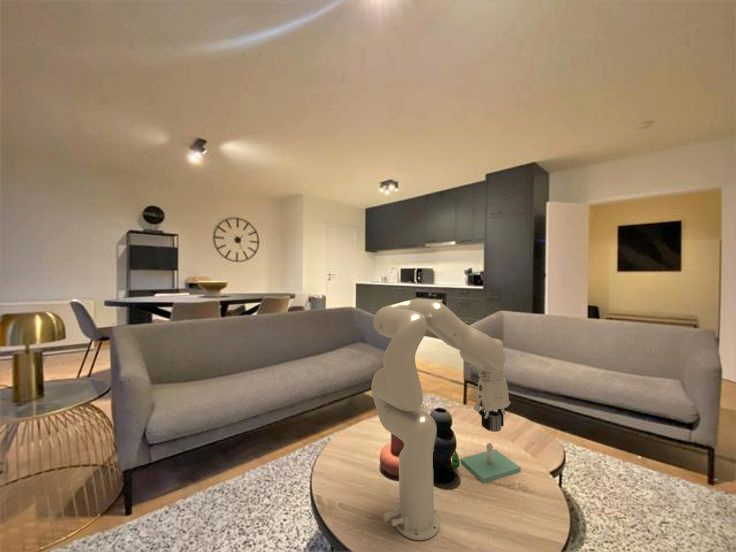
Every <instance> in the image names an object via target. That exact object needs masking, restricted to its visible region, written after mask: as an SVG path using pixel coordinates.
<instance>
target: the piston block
mask: <svg viewBox="0 0 736 552" xmlns="http://www.w3.org/2000/svg"><path fill="white" fill-rule="evenodd" d="M493 448H494V447H493V444H492V443H491V442H488V443H487V444H486V451H484V452H480V453H476V454H472V455H469V456H464V457H462V458H459V461H460V462H461V463H462V464H461V463H460V464H461V465H462V466H464V467H465V468H466V469H467V470H468V471H469V472H470V473H471V474H472V475H473V474H474V475H473V476H475V477H476V479H478V480H479V481H480V482H481V483H482V484H485V483H489V482H492V481H495V480H498V479H502V478H506V477H509V476H511V475H512V476H513V475H514V474H518V473H521V472H522V471H521V470H522V469H521V467H520V466H519V465H518V464H517V463H515V462H514V461H513V460H511V459H510V458H508V457H507V456H506V455H504V454H503V453H501V452H500V451H499V450H498V449H495V448H494V449H493ZM520 471H521V472H520ZM501 477H502V478H501Z"/></svg>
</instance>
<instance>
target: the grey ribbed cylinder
mask: <svg viewBox="0 0 736 552" xmlns="http://www.w3.org/2000/svg"><path fill="white" fill-rule="evenodd" d="M484 413H485V411H484ZM488 418H489V430H488V431H489V432H496V433H497V432H500V431H502V426H501V414H500V413H499V412H497V410H493V411H489V414H488Z"/></svg>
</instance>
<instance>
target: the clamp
mask: <svg viewBox="0 0 736 552" xmlns="http://www.w3.org/2000/svg"><path fill="white" fill-rule="evenodd" d="M460 464H461V463H460V458H459V455H458V452H457V450H456V451H455V454H454V455H453V457H452V469H458V468H460V466H461V465H460Z"/></svg>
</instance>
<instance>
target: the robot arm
mask: <svg viewBox="0 0 736 552" xmlns="http://www.w3.org/2000/svg"><path fill="white" fill-rule="evenodd" d="M373 327H374V329H375V331H376V333H377V334H379V335H381V336H383V337H387V338H389V339H391V341H390V342H389V344H388V345H387V348H386V350H385V351H384V354H383V359H382V364H383V367H382V368H379V369H378V370H377V371H376V372H375V374H374V375H373V378H372V380H371V386H370V387H371V394H372V399H373V401H374V407H375V408H376V409H375V410H376V412H377V413H376V414H377V416H378V419H379V421H380V424H381V425H382V427H383V428H384V430H386V431H387V432H389V433H390V434H392V435H394V436H395V437H397V438H398V439H399V440H400V441H402V442H403V444H404V445H403V448H402V450H401V451H400V452H399V456H398V487H399V488H398V496H399V499H398V500H399V501H398V503H395V508H394V509H393V510H392V511H388V512H384V513H383V514H382V516H383V517H382V518H383V521H384V523H388V522H390V521H391V522H390V524H391V526H392V527H396V530H398V532H399V533H400V534H401V535H402V536H405V537H406V538H408V539H410V540H413V541H414V540H415V541H425V540H429V539H431V538H433V537H435V536H436V535H437V533H438V532H439V530H440V526H441V524H440V523H441V521H440V517H439V514H438V512H437V511H436V510H435V507H434V506H435V505H434V503H435V502H434V501H435V500H434V497H435V496H434V495H435V494H434V492H435V491H434V468H433V452H434V451H435V443H436V438H437V432H438V431H437V430H438V429H437V423H436V421H435V419H434V418H433V417H432V415H430V413H428V412H426V411H425V410H423V409H420V408H421V407H422V405H423V402H424V401H423V400H424V396H423V394H424V393H423V388H422V385H421V380H420V377H419V373H418V369H417V364H416V353H417V351H418V349H419V347H420V344H421V343H422V341H423V339H424V338H425V336H426V333H427V330H429V331H430V332H431V333H432V334H433V335H435V336H436V337H437V338H439V339H440V340H441V341H442V342H443V343H444V344H446V345H447V346H450V347H451V348H453V349H456V350H458V351H459V355H460V358H461V359H462V360H463V361H465V362H466V363H469V364H471V365H472V364H473V365H476V366H479V367H480V372H479V373H478V378H479V379H478V384H477V394H476V396H477V397H476V400H477V401H476V402H475V404H474V406H473V410H474V411H475V412H477V413H478V414H479V415H480V416H481V426H482V428H484V429H486V430H487V431H489V418H488V414H489V411H493V410H494V411H497V412H499V413H500V414H501V428H503V427H504V425H505V424H504V415H505V414H506V411H507V409H508V407H509V406H510V405H511V403H512V402H511V401H510V399H509V398H510V397H509V388H508V383H507V382H508V381H507V380H506V378H505V377H504V376H505V373H504V371H505V370H504V369H505V368H504V364H505V362H506V353H505V350H504V343H503V341H502V340H501V339H499V338H493V337H491V336H490V335H488V334H486V333H484V332H482V331H481V330H479V329H476V328H474V327H473V326H471V325H469V324H467V323H465V322H464V321H463V320H462V319H461V318H459V316H457V315H456V314H455V313H454V312H453V311H452V310H450V308H449V307H447V306H446V305H445V304H444V303H442V302H440V301H438V300H434V299H433V300H432V299H425V298H424V299H423V298H413V299H409V300H405V301H401V302H398V303H392V304H390V305H389V304H388V305H387V306H386V305H385V306H383V307H381V308H380V309H378V310H377V312H376V313H375V314H374V317H373ZM484 412H485V413H484Z"/></svg>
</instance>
